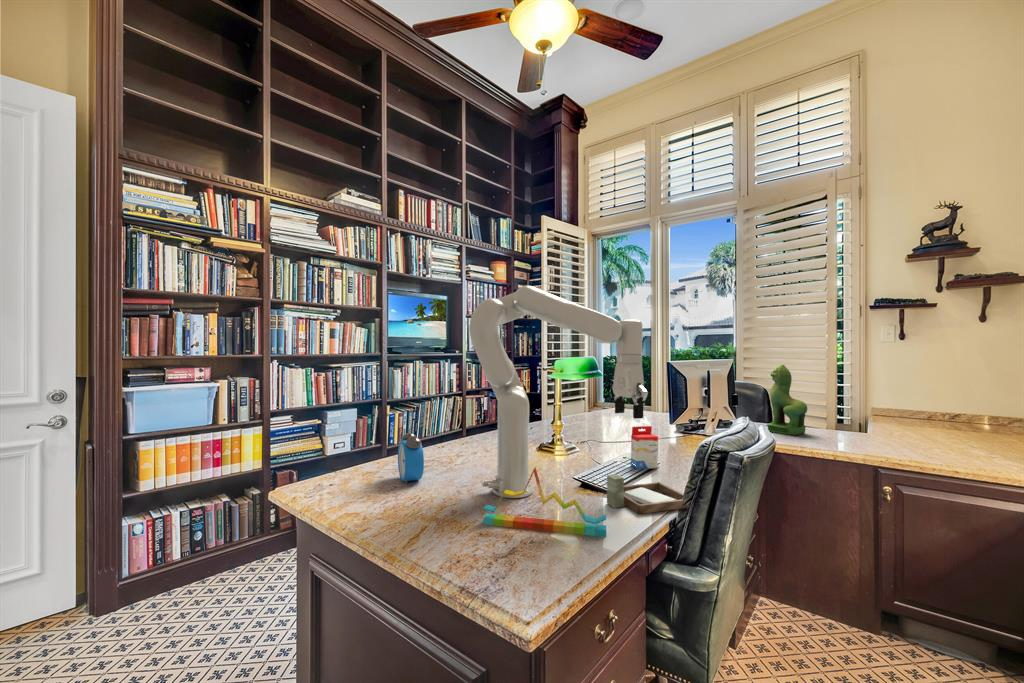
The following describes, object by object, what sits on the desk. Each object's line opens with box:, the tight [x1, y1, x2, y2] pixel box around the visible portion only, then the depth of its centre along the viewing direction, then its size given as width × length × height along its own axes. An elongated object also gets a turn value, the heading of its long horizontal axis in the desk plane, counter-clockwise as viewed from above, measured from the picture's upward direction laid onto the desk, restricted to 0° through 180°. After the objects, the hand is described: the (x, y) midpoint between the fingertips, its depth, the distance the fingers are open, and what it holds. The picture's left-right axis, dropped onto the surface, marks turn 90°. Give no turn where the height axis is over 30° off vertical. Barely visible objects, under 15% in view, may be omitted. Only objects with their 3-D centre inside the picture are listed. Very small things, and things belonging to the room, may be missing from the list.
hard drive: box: [624, 487, 676, 504], centre depth 131 cm, size 2×8×12 cm
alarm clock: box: [397, 432, 425, 485], centre depth 148 cm, size 13×6×15 cm, turn 25°
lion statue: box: [766, 364, 808, 436], centre depth 230 cm, size 14×17×35 cm
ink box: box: [630, 425, 659, 470], centre depth 166 cm, size 8×5×15 cm, turn 102°
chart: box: [483, 467, 607, 538], centre depth 112 cm, size 30×3×15 cm, turn 77°
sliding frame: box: [606, 473, 694, 515], centre depth 130 cm, size 22×16×8 cm
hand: (628, 415), depth 138 cm, fingers open, 9 cm apart
